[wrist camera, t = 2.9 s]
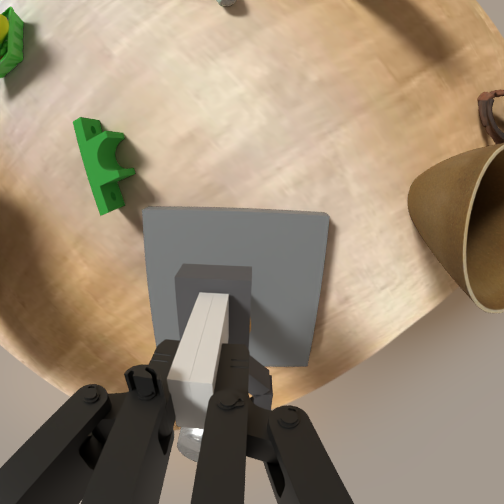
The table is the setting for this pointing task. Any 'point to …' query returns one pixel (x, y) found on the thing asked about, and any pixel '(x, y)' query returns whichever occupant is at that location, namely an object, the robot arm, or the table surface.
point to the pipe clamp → (101, 163)
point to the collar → (239, 290)
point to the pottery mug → (490, 115)
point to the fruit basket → (10, 41)
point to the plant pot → (466, 221)
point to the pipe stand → (243, 254)
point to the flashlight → (226, 2)
